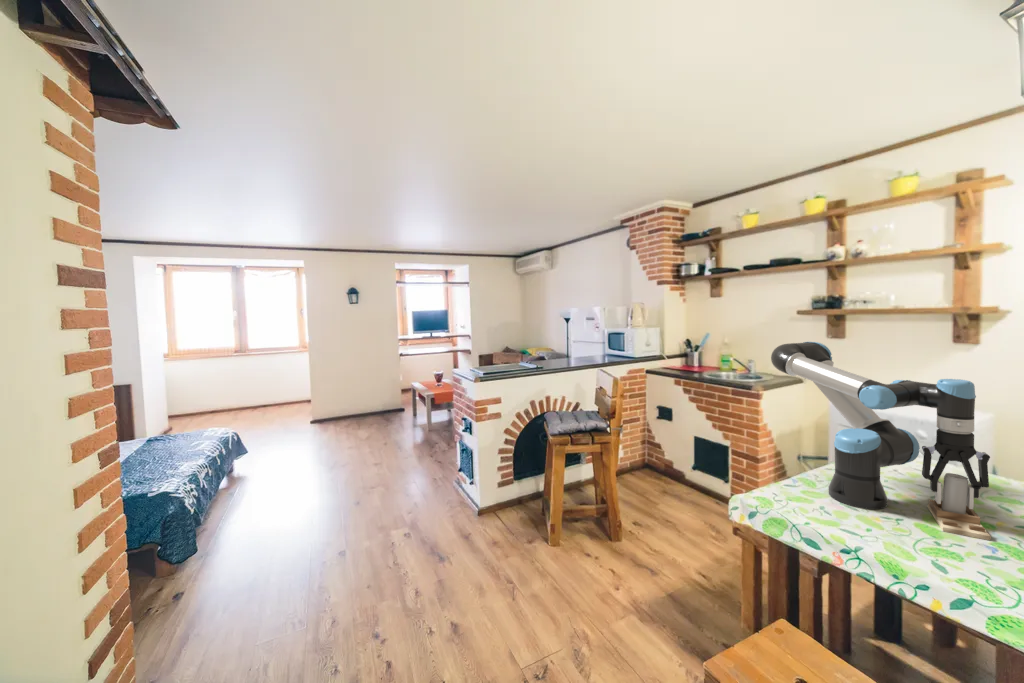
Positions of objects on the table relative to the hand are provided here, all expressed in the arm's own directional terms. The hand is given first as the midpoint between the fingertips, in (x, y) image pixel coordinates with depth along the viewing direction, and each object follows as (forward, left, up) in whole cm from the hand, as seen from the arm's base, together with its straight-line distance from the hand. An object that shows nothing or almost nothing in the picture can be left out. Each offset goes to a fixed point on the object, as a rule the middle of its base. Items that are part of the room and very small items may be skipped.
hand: (953, 504), depth 118 cm
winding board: (0, -3, -4) cm, 5 cm away
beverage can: (0, 0, -3) cm, 3 cm away
